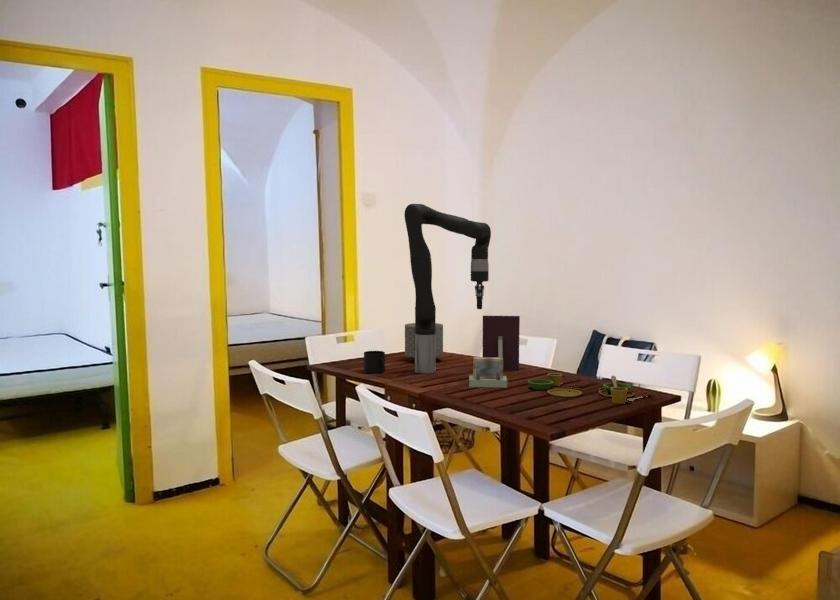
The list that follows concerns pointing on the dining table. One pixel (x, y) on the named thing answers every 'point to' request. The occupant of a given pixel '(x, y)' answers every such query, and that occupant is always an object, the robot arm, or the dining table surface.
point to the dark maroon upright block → (502, 339)
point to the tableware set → (554, 379)
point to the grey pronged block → (488, 381)
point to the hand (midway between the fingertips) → (479, 308)
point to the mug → (374, 362)
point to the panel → (487, 367)
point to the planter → (411, 340)
